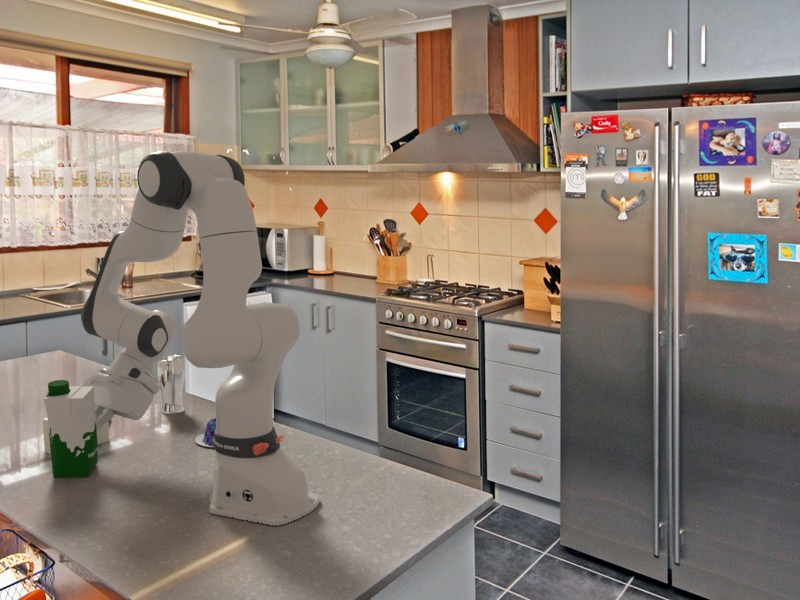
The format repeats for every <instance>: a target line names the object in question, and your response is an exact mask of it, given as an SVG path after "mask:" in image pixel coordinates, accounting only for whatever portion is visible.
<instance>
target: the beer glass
mask: <svg viewBox="0 0 800 600" xmlns="http://www.w3.org/2000/svg"><path fill="white" fill-rule="evenodd" d="M185 375H186V374H185V362H184V356H182V355H178V354H171V355H170V354H169V355H167V354H166V355H164V356H163V358H162V359H161V360H160V361H159V362H158V363H157V380H158V385H159V386H160V390H159V391H160V394H161V405H160V406H161V408H160V413H161V414H163V415H177V414H182V413H183V412H184V411H185V408H184V407H185V406H184V404H183V391H184V386H185Z"/></svg>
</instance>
